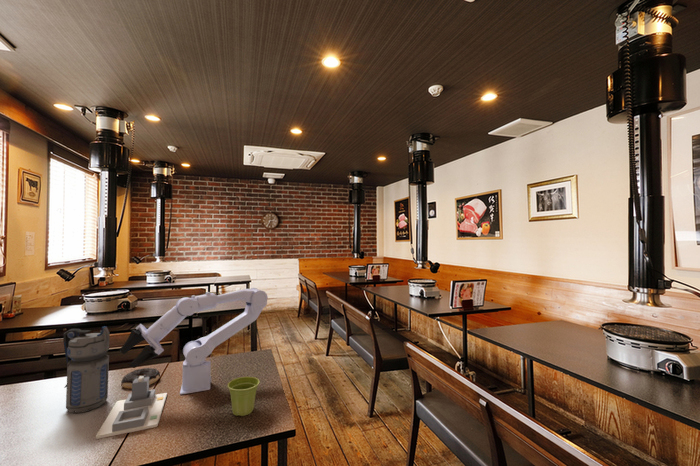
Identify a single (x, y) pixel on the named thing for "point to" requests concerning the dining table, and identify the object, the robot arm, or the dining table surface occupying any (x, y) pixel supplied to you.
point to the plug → (140, 388)
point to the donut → (135, 374)
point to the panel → (133, 415)
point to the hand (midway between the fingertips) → (126, 359)
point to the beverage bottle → (86, 369)
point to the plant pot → (243, 394)
